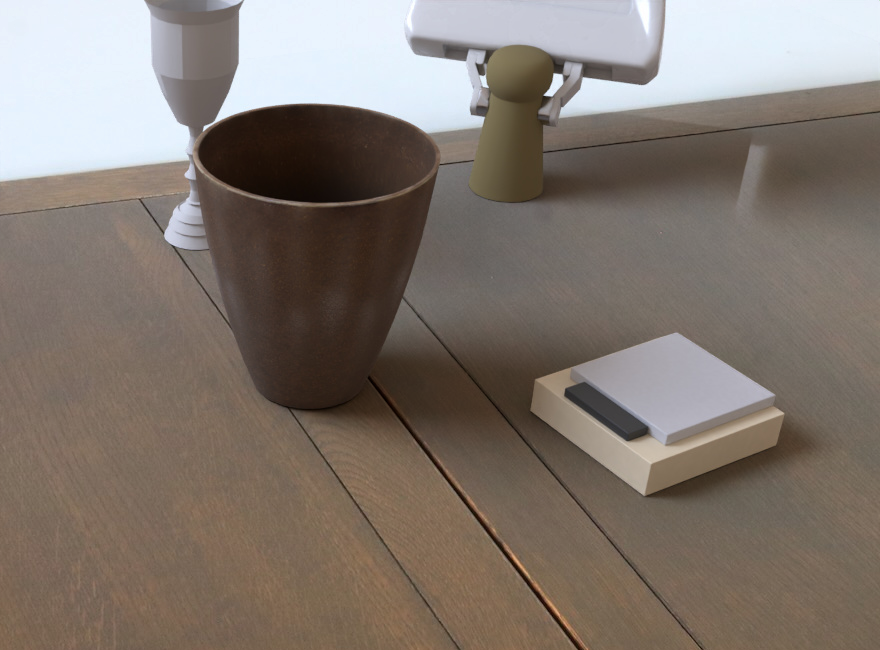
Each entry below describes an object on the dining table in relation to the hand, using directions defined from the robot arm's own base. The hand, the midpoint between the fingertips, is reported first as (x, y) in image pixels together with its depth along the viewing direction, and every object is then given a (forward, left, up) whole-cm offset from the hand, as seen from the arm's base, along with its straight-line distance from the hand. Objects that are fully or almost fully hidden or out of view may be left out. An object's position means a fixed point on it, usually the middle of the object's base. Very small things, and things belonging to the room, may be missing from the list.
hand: (513, 118), depth 123 cm
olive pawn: (0, 0, -6) cm, 6 cm away
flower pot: (+30, +17, -6) cm, 34 cm away
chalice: (+26, -5, -6) cm, 27 cm away
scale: (+14, +33, -6) cm, 36 cm away
